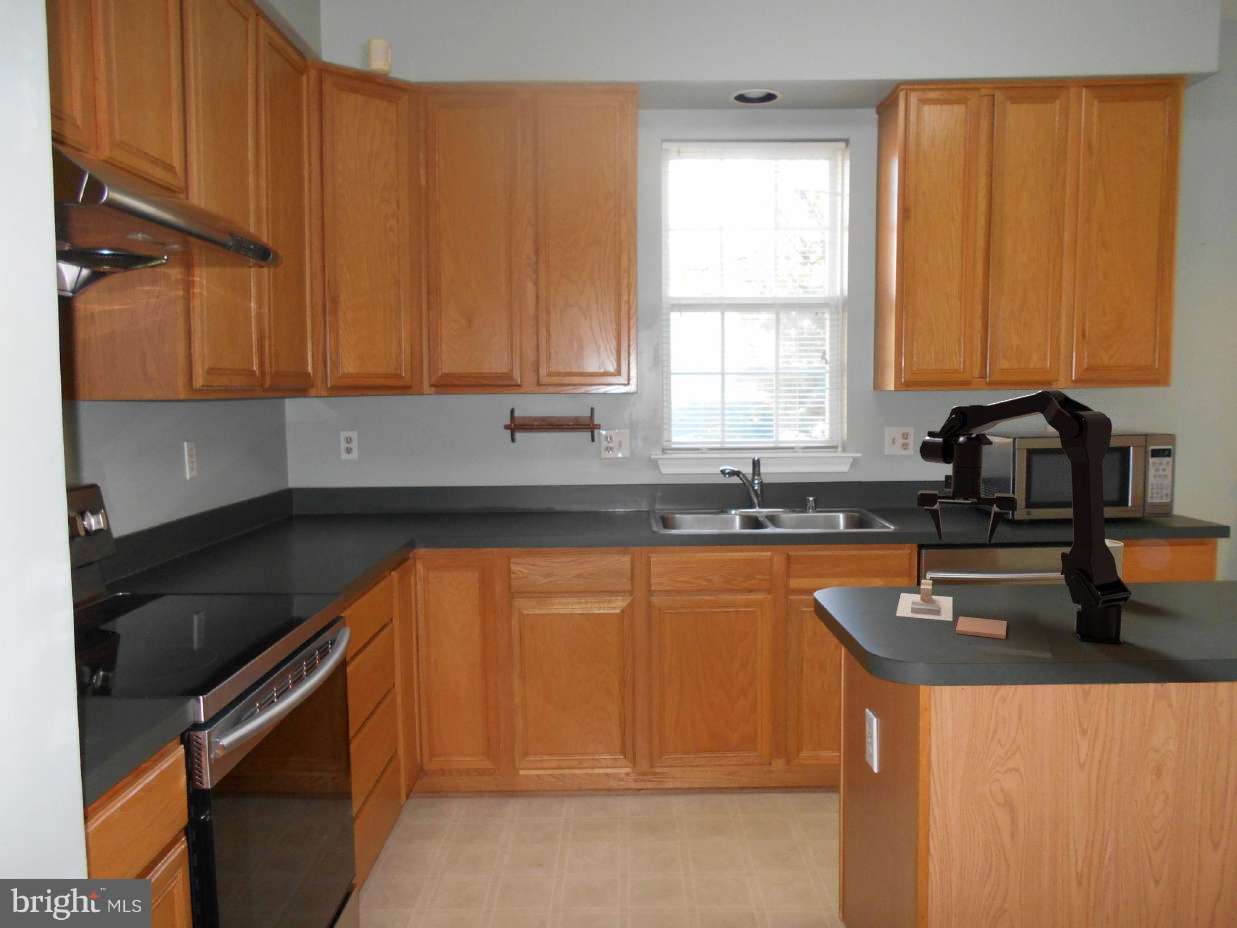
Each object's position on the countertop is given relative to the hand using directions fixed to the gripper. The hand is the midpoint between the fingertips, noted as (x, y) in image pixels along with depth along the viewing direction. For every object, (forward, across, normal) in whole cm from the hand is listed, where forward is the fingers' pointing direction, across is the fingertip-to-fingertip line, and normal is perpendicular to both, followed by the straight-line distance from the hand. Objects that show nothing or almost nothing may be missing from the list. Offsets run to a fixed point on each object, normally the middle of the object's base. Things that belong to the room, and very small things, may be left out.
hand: (964, 541), depth 176 cm
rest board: (+12, +7, +12) cm, 18 cm away
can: (+12, -26, -12) cm, 31 cm away
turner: (+11, +7, +11) cm, 17 cm away
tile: (+12, -3, +20) cm, 23 cm away
